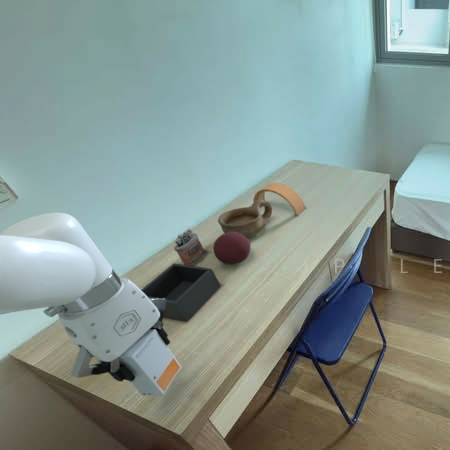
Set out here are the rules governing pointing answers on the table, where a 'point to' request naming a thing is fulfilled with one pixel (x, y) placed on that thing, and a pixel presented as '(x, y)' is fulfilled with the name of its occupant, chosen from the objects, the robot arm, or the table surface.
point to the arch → (283, 192)
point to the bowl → (246, 219)
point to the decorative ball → (232, 248)
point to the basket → (183, 289)
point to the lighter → (189, 248)
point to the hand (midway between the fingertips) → (145, 359)
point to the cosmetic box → (150, 364)
